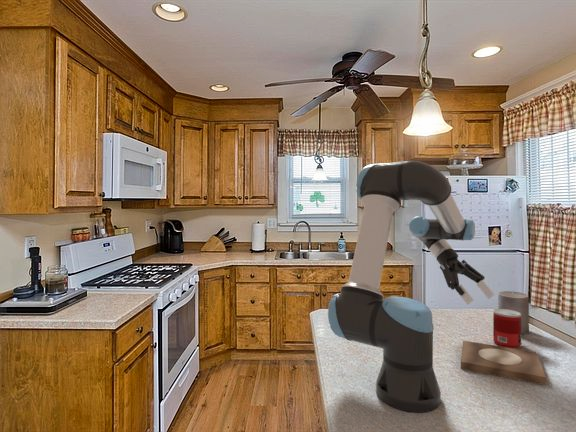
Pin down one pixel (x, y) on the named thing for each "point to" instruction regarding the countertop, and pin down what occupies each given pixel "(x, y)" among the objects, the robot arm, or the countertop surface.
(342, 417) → the countertop surface
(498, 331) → the canned food
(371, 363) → the countertop surface
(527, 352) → the board
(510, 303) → the pillar candle
